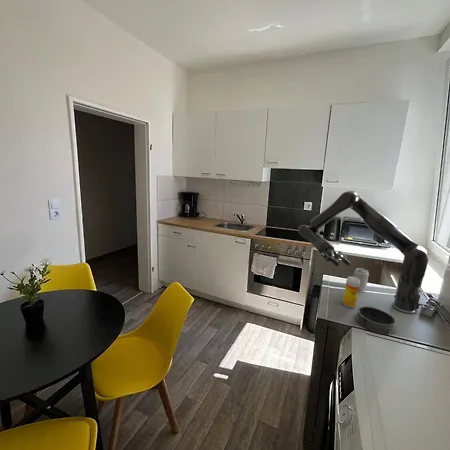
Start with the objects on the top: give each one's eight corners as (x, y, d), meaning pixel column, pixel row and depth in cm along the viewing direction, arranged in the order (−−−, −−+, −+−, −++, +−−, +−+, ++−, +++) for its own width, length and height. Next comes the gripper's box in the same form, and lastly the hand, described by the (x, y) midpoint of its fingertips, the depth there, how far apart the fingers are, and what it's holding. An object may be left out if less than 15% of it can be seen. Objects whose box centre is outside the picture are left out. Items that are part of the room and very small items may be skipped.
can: (349, 284, 151) (353, 266, 148) (362, 286, 150) (366, 268, 148) (354, 290, 144) (357, 271, 141) (367, 292, 143) (371, 273, 140)
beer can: (354, 309, 123) (359, 282, 120) (341, 305, 127) (346, 278, 124) (356, 304, 128) (361, 278, 125) (343, 300, 132) (348, 274, 128)
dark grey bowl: (377, 314, 120) (378, 306, 119) (401, 333, 106) (403, 324, 105) (349, 314, 118) (351, 306, 117) (370, 334, 104) (372, 325, 103)
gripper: (317, 241, 137) (337, 259, 124) (335, 241, 143) (356, 259, 131) (311, 251, 140) (331, 270, 128) (329, 251, 147) (349, 269, 134)
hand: (343, 264), depth 129 cm, fingers open, 8 cm apart
